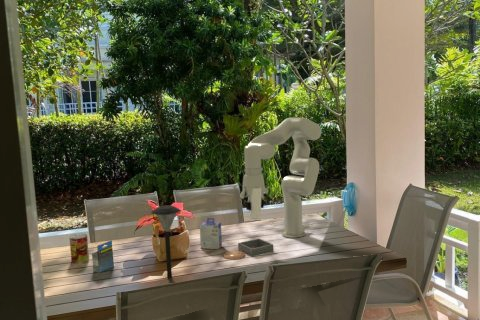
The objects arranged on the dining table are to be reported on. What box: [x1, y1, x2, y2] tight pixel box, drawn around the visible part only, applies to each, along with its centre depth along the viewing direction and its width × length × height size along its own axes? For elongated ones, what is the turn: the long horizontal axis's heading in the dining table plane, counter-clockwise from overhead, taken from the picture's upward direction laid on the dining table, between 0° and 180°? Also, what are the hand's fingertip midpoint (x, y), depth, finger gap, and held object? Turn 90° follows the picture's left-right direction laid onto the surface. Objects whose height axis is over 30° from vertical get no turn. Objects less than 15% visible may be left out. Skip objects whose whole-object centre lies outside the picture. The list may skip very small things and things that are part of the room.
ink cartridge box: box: [199, 217, 223, 250], centre depth 235 cm, size 10×6×14 cm, turn 79°
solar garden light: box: [150, 204, 181, 279], centre depth 195 cm, size 12×12×30 cm
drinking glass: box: [248, 187, 262, 220], centre depth 225 cm, size 7×7×15 cm
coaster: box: [223, 250, 246, 260], centre depth 221 cm, size 10×10×1 cm
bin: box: [237, 238, 274, 257], centre depth 227 cm, size 12×12×4 cm
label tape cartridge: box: [91, 239, 115, 274], centre depth 209 cm, size 9×4×12 cm, turn 150°
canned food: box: [69, 233, 90, 265], centre depth 222 cm, size 8×8×12 cm
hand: (255, 208), depth 225 cm, fingers closed on drinking glass, 6 cm apart
